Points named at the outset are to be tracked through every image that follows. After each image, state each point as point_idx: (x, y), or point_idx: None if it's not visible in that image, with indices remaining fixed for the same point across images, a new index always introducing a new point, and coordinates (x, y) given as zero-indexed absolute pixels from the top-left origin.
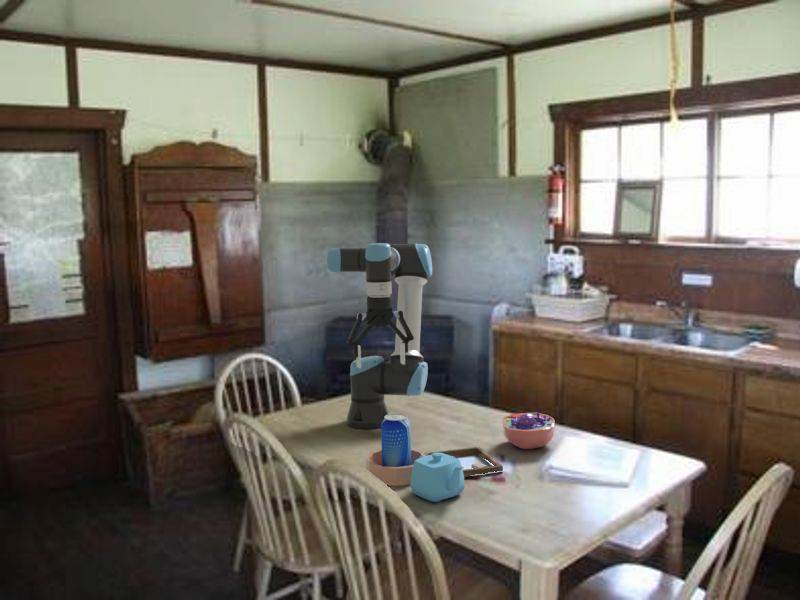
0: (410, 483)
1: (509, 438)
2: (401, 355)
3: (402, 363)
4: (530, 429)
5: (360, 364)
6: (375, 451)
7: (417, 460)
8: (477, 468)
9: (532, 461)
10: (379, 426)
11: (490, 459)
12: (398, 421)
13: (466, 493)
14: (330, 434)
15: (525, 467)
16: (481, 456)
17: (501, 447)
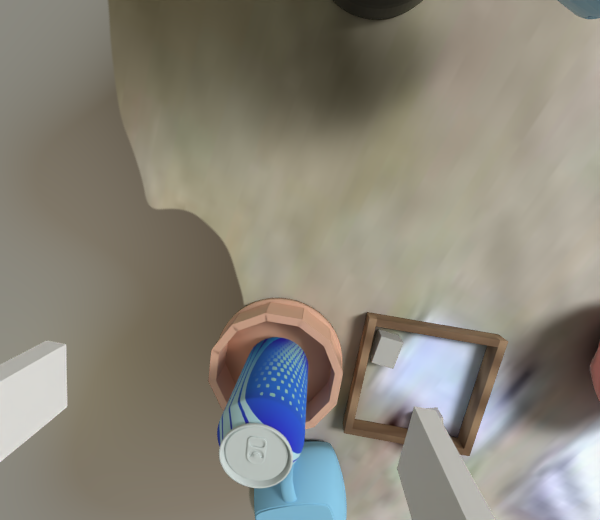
0: None
1: (591, 375)
2: (431, 513)
3: (401, 465)
4: None
5: (32, 429)
6: (247, 320)
7: (260, 518)
8: None
9: (557, 426)
10: (388, 15)
11: (474, 414)
12: (251, 481)
13: (348, 482)
14: (236, 7)
15: (520, 443)
16: (483, 363)
17: (567, 328)
